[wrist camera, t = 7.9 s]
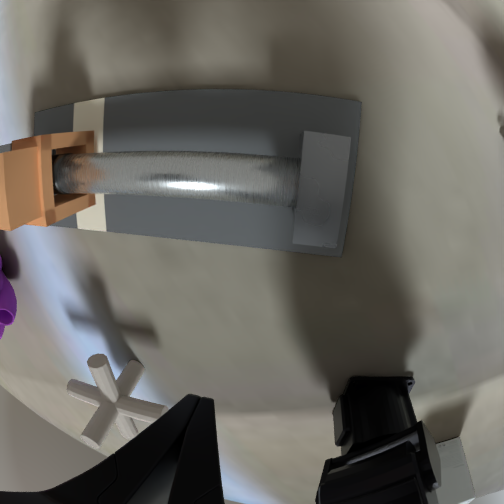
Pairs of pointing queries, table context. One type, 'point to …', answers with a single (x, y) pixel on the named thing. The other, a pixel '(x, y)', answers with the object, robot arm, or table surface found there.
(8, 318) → the purple tube cluster
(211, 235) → the grey base plate
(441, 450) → the skincare box
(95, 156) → the linear slide rail
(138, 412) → the pipe connector
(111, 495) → the robot arm
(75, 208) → the collar
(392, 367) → the table surface
